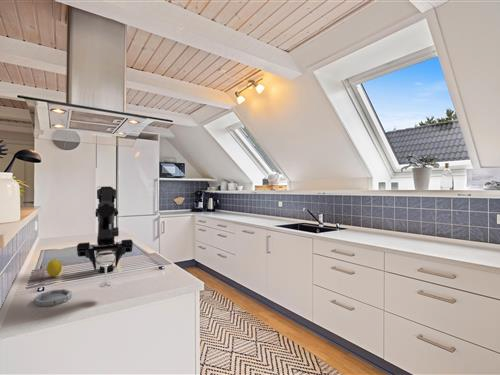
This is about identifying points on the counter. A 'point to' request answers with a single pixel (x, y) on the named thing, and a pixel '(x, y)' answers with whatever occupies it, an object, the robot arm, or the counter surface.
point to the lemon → (54, 268)
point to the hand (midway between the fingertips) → (105, 268)
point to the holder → (52, 298)
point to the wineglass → (105, 263)
